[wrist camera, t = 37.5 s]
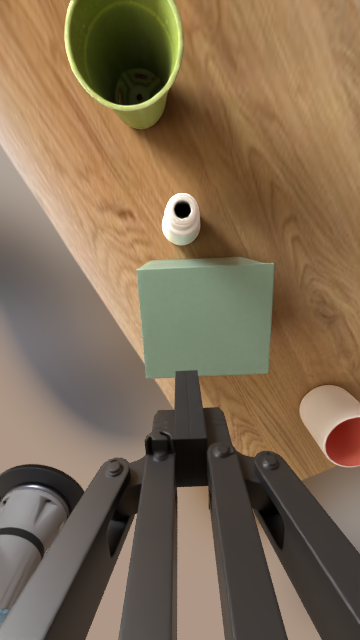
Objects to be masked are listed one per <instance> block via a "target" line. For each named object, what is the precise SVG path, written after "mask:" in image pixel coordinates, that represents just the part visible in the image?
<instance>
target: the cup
mask: <svg viewBox="0 0 360 640" xmlns="http://www.w3.org/2000/svg"><path fill="white" fill-rule="evenodd" d="M299 413H300V417H301V420H302V422H303V423H304V425H305V426H306V428H307V429H308V431H309V432H310V433H311V435H312V436H313V438H314V439H315V441H316V442H317V444H318V445H319V447H320V448H321V450H322V451H323V453H324V454H325V456H326V457H327V458H328V459H329V460H330V461H331V462H332V463H334V464H336V465H338V466H342V467H357V466H360V403H359V402H358V401H357V400H356V399H355V398H354V397H353V396H352V395H351V394H349V393H348V392H347V391H346V390H345V389H343V388H341V387H338V386H334V385H323V386H319V387H316V388H314V389H313V390H311V391H310V392H308V393H307V394H306V395H305V396H304V398H303V399H302V401H301V404H300V409H299Z"/></svg>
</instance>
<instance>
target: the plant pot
mask: <svg viewBox="0 0 360 640" xmlns="http://www.w3.org/2000/svg"><path fill="white" fill-rule="evenodd" d="M65 45H66V51H67V55H68V59H69V62H70V65H71V68H72V70H73V72H74V74H75V76H76V78H77V79H78V81H79V82H80V84H81V85H82V87H83V88H84V89H85V90H86V91H87V92H88V93H89V94H90V95H91V96H92V97H93V98H94V99H95V100H96V101H98V102H99V103H101V104H103V105H104V106H106V107H109V108H111V109H112V110H113V111H114V112H115V113H116V114H117V115H118V116H119V117H120V118H121V119H122V120H123V121H124V122H125V123H126V124H127V125H129V126H131V127H133V128H136V129H145V128H148V127H151V126H153V125H154V124H155V123H156V122H157V121H158V120H159V119H160V117H161V116H162V114H163V111H164V108H165V104H166V99H167V94H168V90H169V89H170V88H171V86H172V84H173V83H174V81H175V79H176V77H177V74H178V72H179V69H180V66H181V62H182V57H183V48H184V35H183V27H182V22H181V18H180V14H179V11H178V8H177V6H176V4H175V2H174V0H71V1H70V4H69V8H68V11H67V15H66V22H65ZM136 74H143V75H145V76H146V79H142V78H136V77H135V76H136ZM153 77H155V78H154V79H153V80H152V81H151V79H152V78H153ZM150 81H151V82H150ZM122 82H123V83H122ZM120 91H122V92H123V94H122V102H123V104H120V103H119V92H120ZM138 95H141V96H142V100H141V101H138V100H137V96H138Z"/></svg>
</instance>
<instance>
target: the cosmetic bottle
mask: <svg viewBox="0 0 360 640" xmlns="http://www.w3.org/2000/svg"><path fill="white" fill-rule="evenodd" d="M162 229H163V233H164V235H165V237H166V238H167V239H168V240H169V241H170V242H171V243H173V244H176V245H187V244H189V243H191V242H193V241H194V240H195V239H196V237H197V236H198V234H199V231H200V212H199V207H198V204H197V202H196V200H195V199H194V198H193V197H192V196H191V195H189V194H185V193H180V194H176V195H174V196H173V197H172V198H171V199H170V200H169V202H168V204H167V207H166V209H165V213H164V218H163V221H162Z"/></svg>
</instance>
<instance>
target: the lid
mask: <svg viewBox="0 0 360 640" xmlns="http://www.w3.org/2000/svg"><path fill="white" fill-rule="evenodd" d="M274 268H275V264H274V263H259V264H237V265H215V266H193V267H171V268H149V269H137V270H136V271H137V282H138V293H139V304H140V315H141V326H142V337H143V348H144V359H145V371H146V378H148V379H149V378H174V377H175V373H176V371H189V370H197V371H198V376H223V375H247V374H268V373H269V356H270V339H271V321H272V303H273V286H274Z"/></svg>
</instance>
